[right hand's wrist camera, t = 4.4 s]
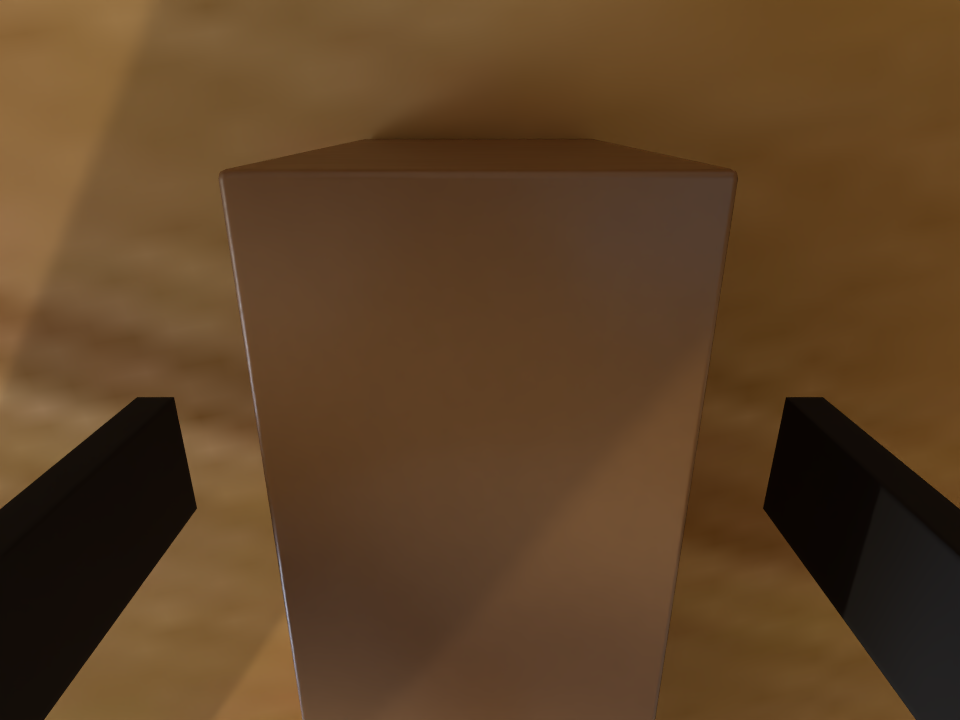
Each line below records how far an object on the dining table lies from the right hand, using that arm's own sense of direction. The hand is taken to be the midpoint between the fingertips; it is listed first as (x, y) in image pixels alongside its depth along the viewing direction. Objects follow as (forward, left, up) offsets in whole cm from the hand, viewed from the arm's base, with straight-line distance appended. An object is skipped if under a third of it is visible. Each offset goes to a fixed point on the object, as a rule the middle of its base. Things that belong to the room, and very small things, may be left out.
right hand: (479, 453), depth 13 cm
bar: (+18, +20, -3) cm, 27 cm away
